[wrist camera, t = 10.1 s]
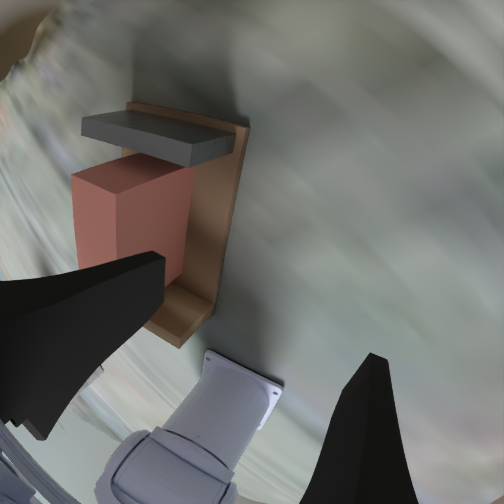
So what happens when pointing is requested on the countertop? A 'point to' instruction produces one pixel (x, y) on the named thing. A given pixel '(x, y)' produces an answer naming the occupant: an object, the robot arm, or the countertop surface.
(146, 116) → the gray rectangular bar
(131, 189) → the pink rectangular pillar
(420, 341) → the countertop surface
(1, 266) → the countertop surface
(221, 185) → the shelf
